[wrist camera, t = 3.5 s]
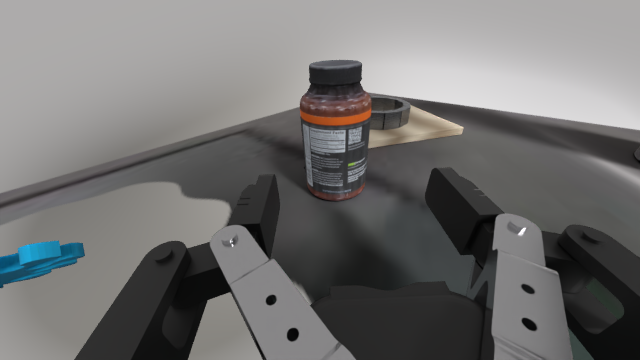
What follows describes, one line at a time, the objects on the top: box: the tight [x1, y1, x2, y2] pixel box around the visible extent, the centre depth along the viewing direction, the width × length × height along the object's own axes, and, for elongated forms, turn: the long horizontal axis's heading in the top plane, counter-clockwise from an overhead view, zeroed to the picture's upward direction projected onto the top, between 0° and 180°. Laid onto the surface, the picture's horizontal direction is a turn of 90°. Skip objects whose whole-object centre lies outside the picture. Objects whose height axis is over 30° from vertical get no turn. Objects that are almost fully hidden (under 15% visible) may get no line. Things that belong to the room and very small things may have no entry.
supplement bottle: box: [300, 60, 372, 201], centre depth 20 cm, size 6×6×11 cm
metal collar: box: [370, 96, 411, 130], centre depth 37 cm, size 10×10×2 cm
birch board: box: [368, 105, 463, 148], centre depth 37 cm, size 20×16×1 cm
